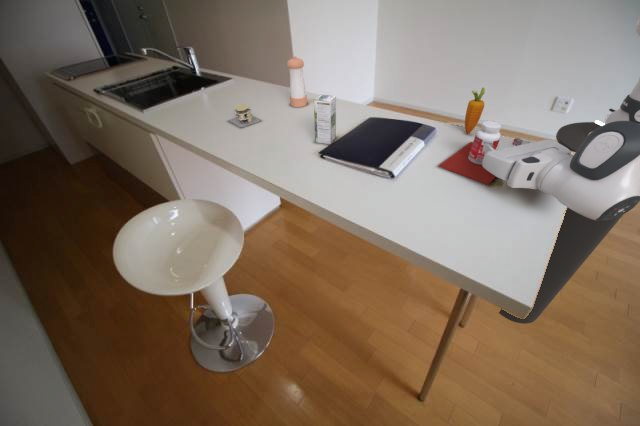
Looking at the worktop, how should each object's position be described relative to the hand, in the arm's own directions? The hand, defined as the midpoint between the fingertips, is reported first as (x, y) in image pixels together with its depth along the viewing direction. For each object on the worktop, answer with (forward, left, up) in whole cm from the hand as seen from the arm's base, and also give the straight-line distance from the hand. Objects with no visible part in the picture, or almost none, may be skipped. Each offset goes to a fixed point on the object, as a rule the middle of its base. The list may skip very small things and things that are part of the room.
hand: (500, 143), depth 76 cm
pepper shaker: (+1, -83, -8) cm, 84 cm away
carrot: (-18, -15, -8) cm, 25 cm away
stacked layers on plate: (+28, -85, -8) cm, 90 cm away
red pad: (-2, -4, -8) cm, 10 cm away
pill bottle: (-2, -4, -8) cm, 9 cm away
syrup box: (+18, -48, -8) cm, 52 cm away
